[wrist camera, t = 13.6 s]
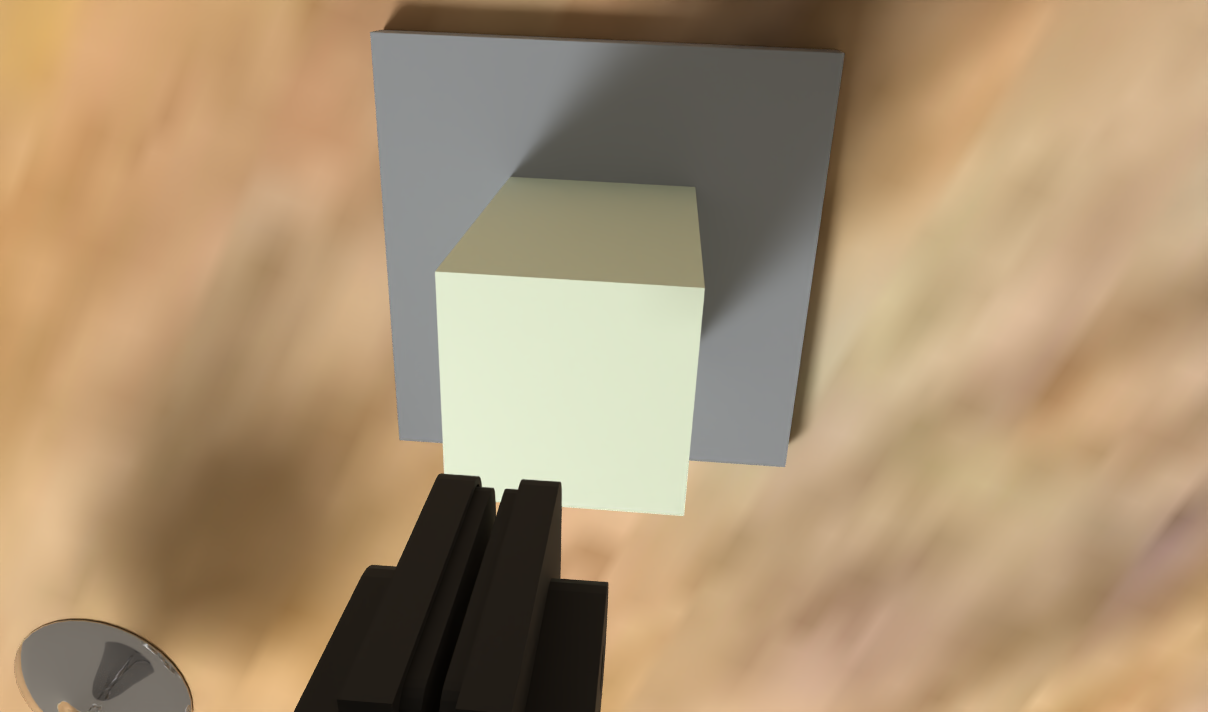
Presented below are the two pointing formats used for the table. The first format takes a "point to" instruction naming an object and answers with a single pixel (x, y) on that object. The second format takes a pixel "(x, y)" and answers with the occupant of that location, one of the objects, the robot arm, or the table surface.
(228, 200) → the table surface
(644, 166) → the slate pad
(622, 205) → the sage block
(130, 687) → the wine glass
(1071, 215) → the table surface
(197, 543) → the table surface
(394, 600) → the robot arm
